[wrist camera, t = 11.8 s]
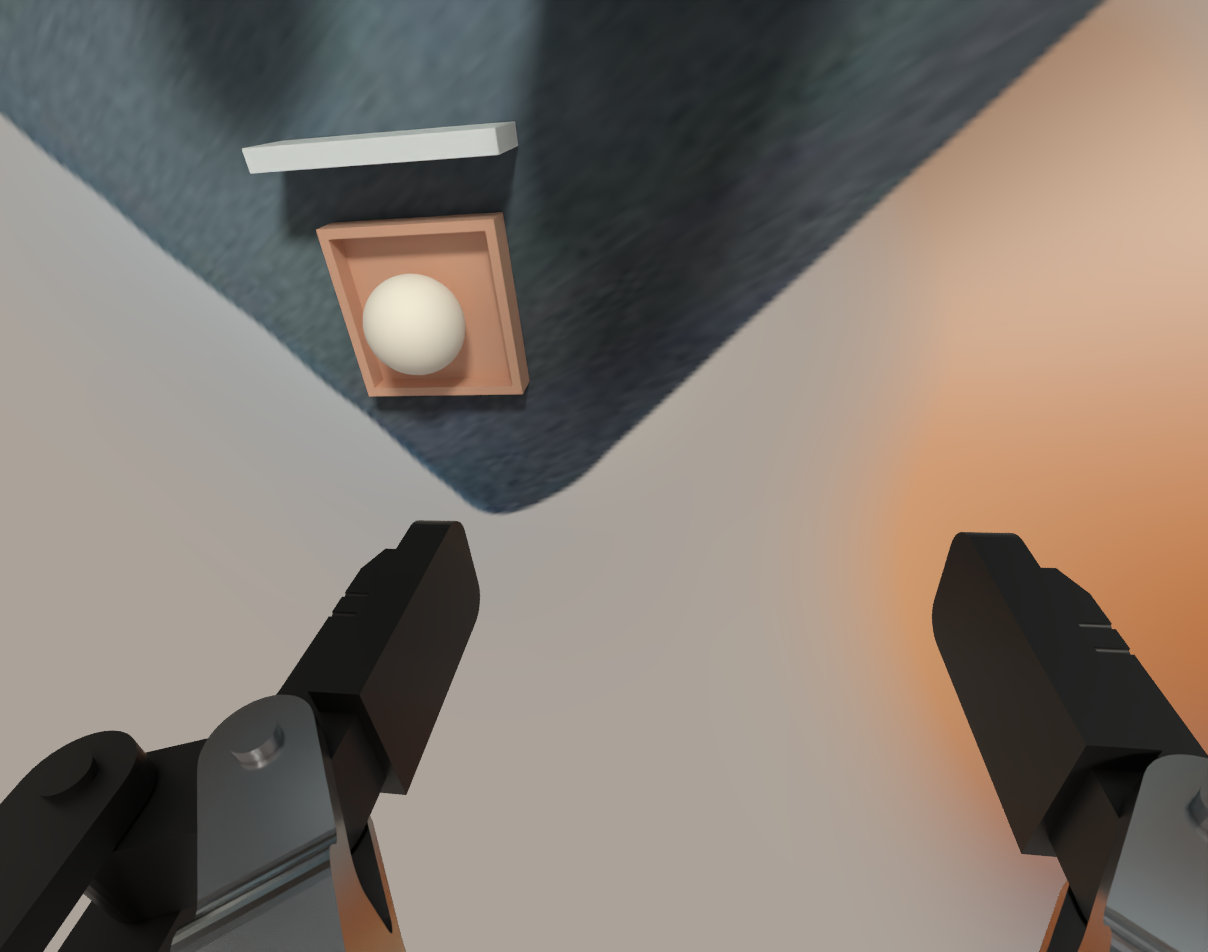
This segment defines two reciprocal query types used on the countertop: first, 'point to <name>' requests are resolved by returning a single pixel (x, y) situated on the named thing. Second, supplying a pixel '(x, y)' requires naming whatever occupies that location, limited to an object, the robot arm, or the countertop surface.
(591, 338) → the countertop surface
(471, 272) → the dish
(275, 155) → the wall
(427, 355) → the ball
